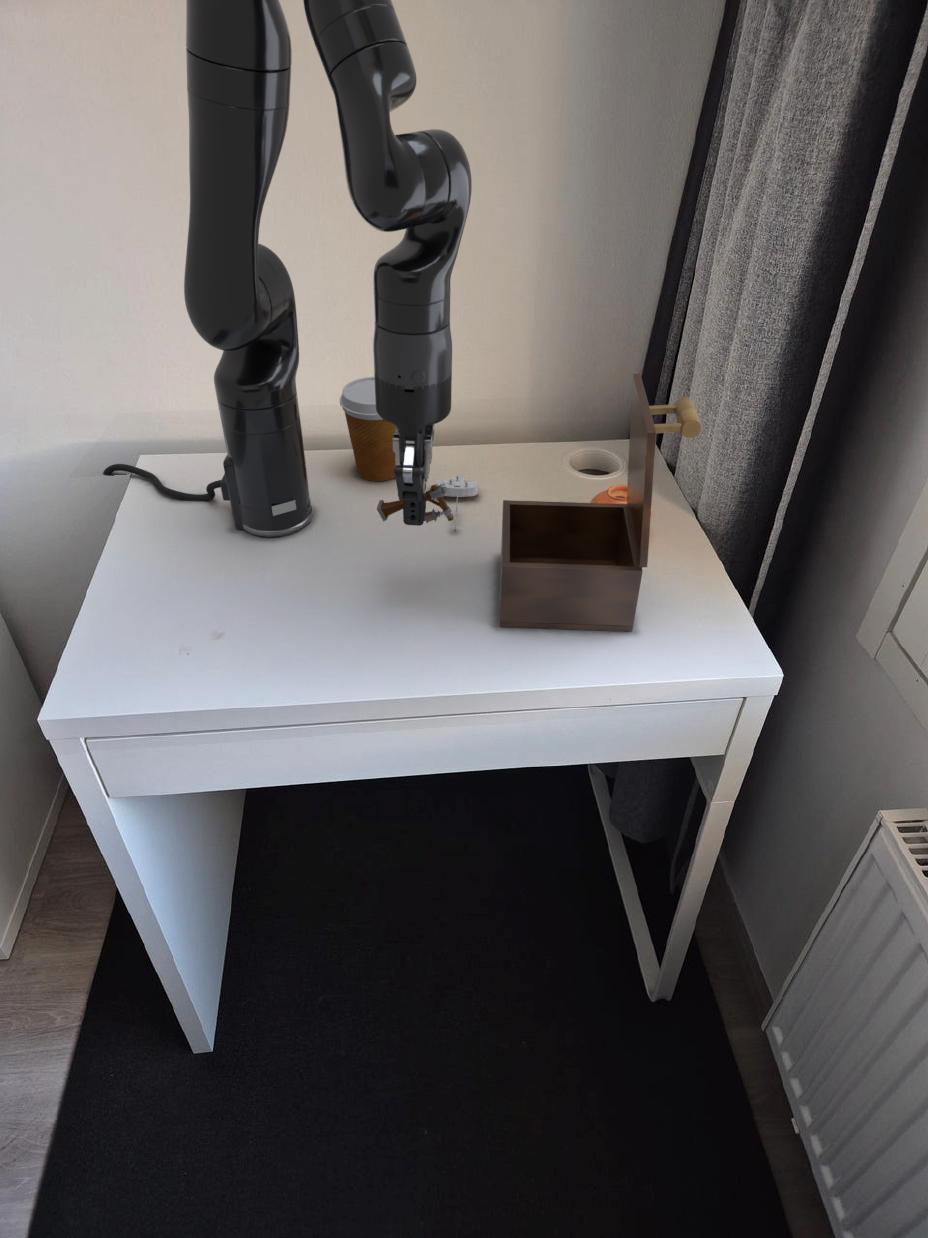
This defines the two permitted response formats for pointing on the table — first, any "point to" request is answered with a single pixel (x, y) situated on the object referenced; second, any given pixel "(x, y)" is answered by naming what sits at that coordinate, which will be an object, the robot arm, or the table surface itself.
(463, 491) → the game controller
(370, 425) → the disposable coffee cup
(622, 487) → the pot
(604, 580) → the chest
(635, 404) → the lid
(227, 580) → the table surface
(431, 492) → the wooden post with brackets
